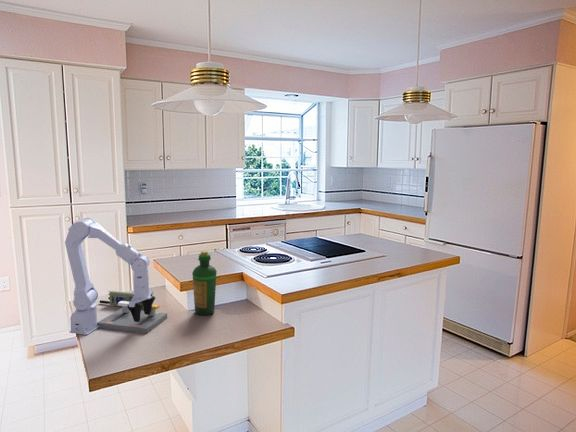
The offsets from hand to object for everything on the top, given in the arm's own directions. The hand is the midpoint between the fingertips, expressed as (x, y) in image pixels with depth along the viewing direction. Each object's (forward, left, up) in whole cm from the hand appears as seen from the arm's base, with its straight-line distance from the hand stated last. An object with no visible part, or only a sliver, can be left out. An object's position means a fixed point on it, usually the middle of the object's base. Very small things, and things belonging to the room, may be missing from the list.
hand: (142, 317), depth 162 cm
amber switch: (+7, 0, -1) cm, 7 cm away
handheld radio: (+18, +20, -4) cm, 27 cm away
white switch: (+7, +12, -2) cm, 14 cm away
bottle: (+21, -18, -4) cm, 28 cm away
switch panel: (+3, +6, -4) cm, 8 cm away
